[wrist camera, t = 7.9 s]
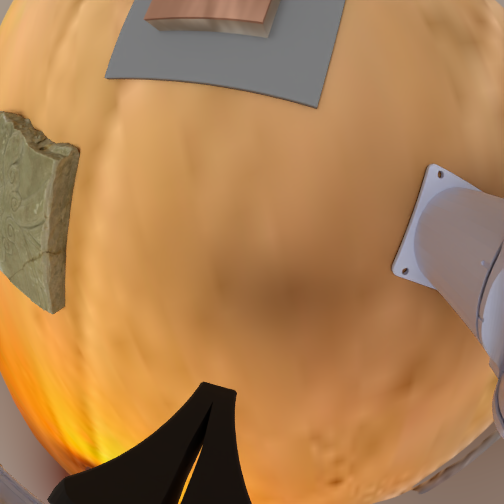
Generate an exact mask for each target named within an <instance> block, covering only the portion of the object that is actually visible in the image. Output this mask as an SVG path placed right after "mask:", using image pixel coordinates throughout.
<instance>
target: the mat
mask: <svg viewBox="0 0 504 504" xmlns="http://www.w3.org/2000/svg"><path fill="white" fill-rule="evenodd" d="M151 1H152V0H135V1H134V3H133V5H132V7H131V9H130V11H129V13H128V16H127V18H126V20H125V22H124V25H123V27H122V30H121V32H120V34H119V37H118V40H117V42H116V45H115V48H114V50H113V53H112V56H111V59H110V62H109V65H108V68H107V71H106V74H105V78H106V79H149V80H167V81H179V82H189V83H198V84H206V85H213V86H220V87H226V88H232V89H237V90H243V91H248V92H253V93H258V94H262V95H267V96H271V97H275V98H280V99H284V100H288V101H291V102H295V103H299V104H302V105H306V106H309V107H313V108H316V109H317V106H318V102H319V99H320V95H321V91H322V88H323V84H324V80H325V77H326V73H327V69H328V66H329V62H330V58H331V54H332V50H333V47H334V43H335V39H336V35H337V31H338V27H339V23H340V19H341V15H342V11H343V7H344V3H345V0H281V1H280V4H279V6H278V9H277V12H276V15H275V18H274V21H273V24H272V27H271V30H270V33H269V36H268V38H263V37H257V36H250V35H242V34H233V33H223V32H209V31H159V30H157V29H156V28H155V27H153V26H152V25H151V24H149V23H148V22H146V21H145V20H144V17H145V14H146V12H147V10H148V8H149V6H150V3H151Z"/></svg>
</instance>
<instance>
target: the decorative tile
mask: <svg viewBox="0 0 504 504" xmlns="http://www.w3.org/2000/svg"><path fill="white" fill-rule="evenodd" d="M79 157H80V154H79V152H78V149H77V148H76V147H74V146H73V145H71V144H69V143H58V144H56V143H54V142H52V141H51V140H50V139H48V138H47V137H46V136H44V134H43V132H42V131H37V130H35V129H34V127H33V126H32V124H31V121H30V120H29V119H24V118H23V117H22V116H19V115H17V114H13V113H7V112H4V111H0V270H1V271H2V272H3V273H4V274H5V275H6V276H7V278H8V279H9V280H10V282H12V283H13V284H14V285H15V286H16V287H17V288H18V289H19V290H20V291H22V292H23V293H24V294H25V295H26V296H27V297H29V298H30V299H31V301H33V302H34V303H35V304H37V305H38V306H39V307H41V308H42V309H43V310H46V311H48V312H49V313H51V314H55V313H56V312H58V311H59V310H61V309H62V308H63V307H64V306H65V263H66V251H65V250H66V242H67V233H68V225H69V217H70V207H71V200H72V193H73V187H74V182H75V177H76V171H77V166H78V161H79Z"/></svg>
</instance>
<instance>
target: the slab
mask: <svg viewBox="0 0 504 504" xmlns="http://www.w3.org/2000/svg"><path fill="white" fill-rule="evenodd" d="M280 1H281V0H152V1H151V3H150V6H149V8H148V10H147V12H146V14H145V17H144V20H145V21H146V22H148V23H149V24H151V25H152V26H153V27H155V28H156V29H157V30H159V31H209V32H223V33H233V34H242V35H250V36H257V37H263V38H268V36H269V33H270V30H271V27H272V24H273V21H274V18H275V15H276V12H277V9H278V6H279V4H280Z"/></svg>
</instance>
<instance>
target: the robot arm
mask: <svg viewBox="0 0 504 504" xmlns="http://www.w3.org/2000/svg"><path fill="white" fill-rule="evenodd" d="M439 171H440V172H441V177H440V178H439V177H438V172H439ZM404 268H407V270H406V272H404V273H402V270H403V269H404ZM392 272H393V273H394V274H395V275H396V276H399V277H402V278H405V279H407V280H410V281H413V282H416V283H419V284H422V285H425V286H427V287H430V288H433V289H436V290H438V292H439V293H440V294H441V295H442V296H443V297H444V298H445V300H446V301H447V302H448V303H449V304H450V306H451V307H452V308H453V309H454V310H455V312H456V313H457V314H458V315H459V316H460V318H461V319H462V320H463V321H464V323H465V324H466V325H467V326H468V328H469V329H470V330H471V332H472V333H473V334H474V335H475V337H476V338H477V339H478V341H479V342H480V343H481V345H482V346H483V348H484V349H485V350H486V352H487V353H488V355H489V356H490V361H489V365H490V367H491V368H492V370H493V371H494V373H495V375H496V376H497V378H498V379H499V380H498V382H497V385H496V388H495V391H494V395H493V401H492V412H493V419H494V422H495V425H496V428H497V430H498V432H499V434H500V435H501V437H502V438H503V439H504V198H501V197H497V196H494V195H490V194H487V193H484V192H482V191H481V190H479V189H478V188H476V187H474V186H473V185H471V184H470V183H468V182H466V181H465V180H463V179H461V178H460V177H458V176H456V175H455V174H453V173H451V172H449V171H448V170H446V169H444V168H442V167H440V166H438V165H436V164H430V165H429V166H428V167H427V170H426V173H425V177H424V180H423V183H422V187H421V190H420V193H419V196H418V199H417V202H416V205H415V208H414V211H413V214H412V217H411V219H410V222H409V225H408V228H407V230H406V233H405V235H404V238H403V241H402V243H401V246H400V248H399V250H398V253H397V255H396V258H395V260H394V262H393V265H392ZM236 395H237V392H236V391H235V390H232V389H228V388H224V387H221V386H217V385H213V384H210V383H207V382H202V383H201V384H200V385H199V387H198V388H197V389H196V391H195V392H194V393H193V395H192V396H191V397H190V398H189V400H188V401H187V402H186V403H185V404H184V405H183V406H182V407H181V408H180V409H179V410H178V411H177V412H176V413H175V414H174V415H173V416H172V417H171V418H170V419H169V420H168V421H167V422H166V423H165V424H164V425H162V426H161V427H160V428H159V429H158V430H157V431H155V432H154V433H153V434H152V435H150V436H149V437H148V438H146V439H145V440H144V441H142V442H141V443H139V444H138V445H136V446H135V447H133V448H131V449H130V450H128V451H127V452H125V453H123V454H121V455H120V456H118V457H116V458H114V459H112V460H110V461H108V462H106V463H103V464H101V465H99V466H97V467H94V468H92V469H89V470H86V471H83V472H80V473H77V474H74V475H71V476H68V477H65V478H64V479H63V480H62V481H61V482H60V483H59V484H58V485H57V486H56V487H55V488H54V490H53V491H52V493H51V495H50V496H49V498H48V499H47V500H48V502H49V503H50V504H178V502H179V499H180V496H181V493H182V490H183V487H184V485H185V482H186V480H187V477H188V475H189V473H190V471H191V469H192V466H193V464H194V462H195V460H196V458H197V456H198V454H199V452H200V449H201V447H202V450H201V453H200V456H199V459H198V461H197V464H196V466H195V469H194V472H193V474H192V477H191V479H190V482H189V484H188V487H187V489H186V492H185V494H184V497H183V499H182V502H181V504H252V503H251V501H250V498H249V495H248V492H247V489H246V486H245V482H244V479H243V475H242V471H241V466H240V461H239V456H238V450H237V443H236V432H235V401H236ZM202 445H203V446H202ZM0 504H44V503H43V502H42V501H40V500H39V499H38V498H37V497H35V496H34V495H33V494H32V493H31V492H29V491H28V490H27V489H26V488H25V487H23V486H22V485H21V484H20V483H19V482H18V481H17V480H15V479H14V478H13V477H12V476H11V475H10V474H9V473H8V472H7V471H6V470H5V469H4V468H3V467H2V465H1V464H0Z"/></svg>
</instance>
